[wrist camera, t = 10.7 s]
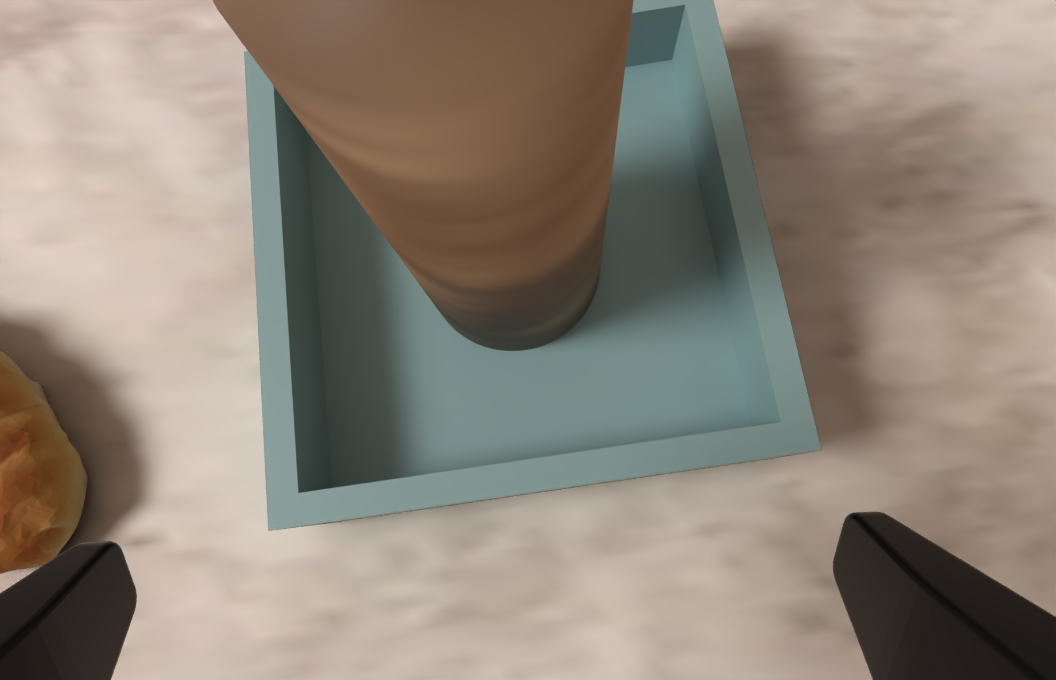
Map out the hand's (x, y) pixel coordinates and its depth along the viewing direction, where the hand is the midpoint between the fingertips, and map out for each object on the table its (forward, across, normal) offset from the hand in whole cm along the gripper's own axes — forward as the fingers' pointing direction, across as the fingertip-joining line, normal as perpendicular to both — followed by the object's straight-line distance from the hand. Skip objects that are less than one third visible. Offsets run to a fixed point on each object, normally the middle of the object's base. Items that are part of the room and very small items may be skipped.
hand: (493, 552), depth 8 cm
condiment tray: (+14, -1, +2) cm, 14 cm away
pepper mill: (+13, -1, +1) cm, 13 cm away
